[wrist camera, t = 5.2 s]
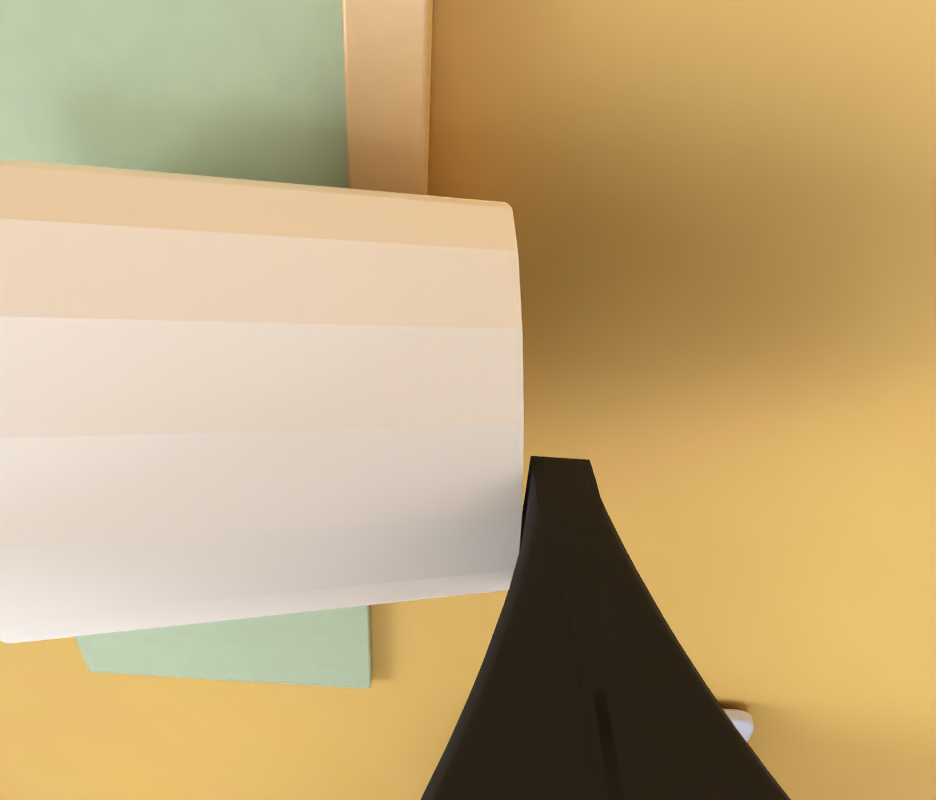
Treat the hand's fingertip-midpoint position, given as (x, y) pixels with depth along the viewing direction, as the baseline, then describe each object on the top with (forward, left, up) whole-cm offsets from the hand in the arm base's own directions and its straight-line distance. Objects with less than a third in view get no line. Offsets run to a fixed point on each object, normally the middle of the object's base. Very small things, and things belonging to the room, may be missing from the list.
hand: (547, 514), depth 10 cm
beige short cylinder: (0, 0, -2) cm, 2 cm away
